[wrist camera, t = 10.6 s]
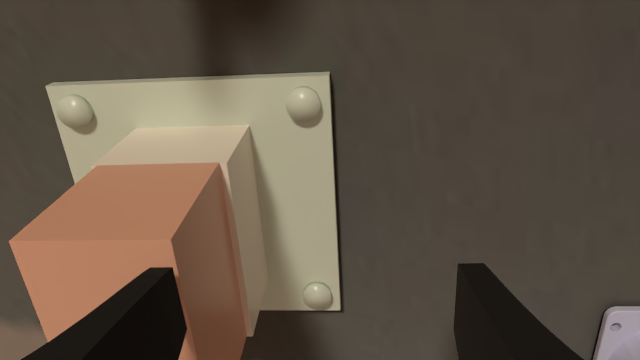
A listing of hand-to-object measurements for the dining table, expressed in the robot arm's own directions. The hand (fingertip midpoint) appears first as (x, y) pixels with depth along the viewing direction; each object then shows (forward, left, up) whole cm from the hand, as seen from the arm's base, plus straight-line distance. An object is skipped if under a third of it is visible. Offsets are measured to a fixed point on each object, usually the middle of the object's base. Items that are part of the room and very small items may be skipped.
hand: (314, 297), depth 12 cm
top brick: (-3, +6, -6) cm, 9 cm away
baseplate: (-3, +6, -10) cm, 12 cm away
